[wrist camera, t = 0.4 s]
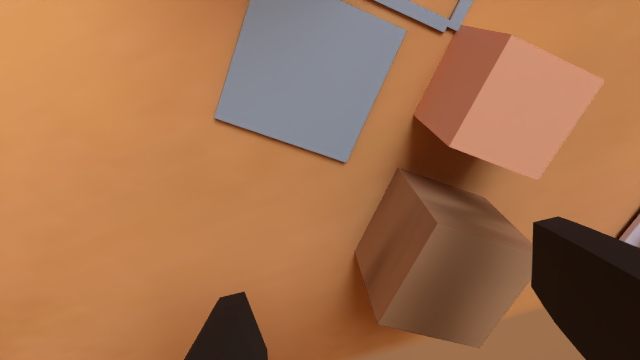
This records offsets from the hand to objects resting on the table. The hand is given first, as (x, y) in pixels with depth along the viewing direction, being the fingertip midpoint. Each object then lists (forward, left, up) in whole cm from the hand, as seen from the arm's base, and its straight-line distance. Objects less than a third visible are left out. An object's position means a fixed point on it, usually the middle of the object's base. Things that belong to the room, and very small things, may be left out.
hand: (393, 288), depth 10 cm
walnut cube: (-5, +2, -9) cm, 11 cm away
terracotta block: (-4, -5, -9) cm, 11 cm away
